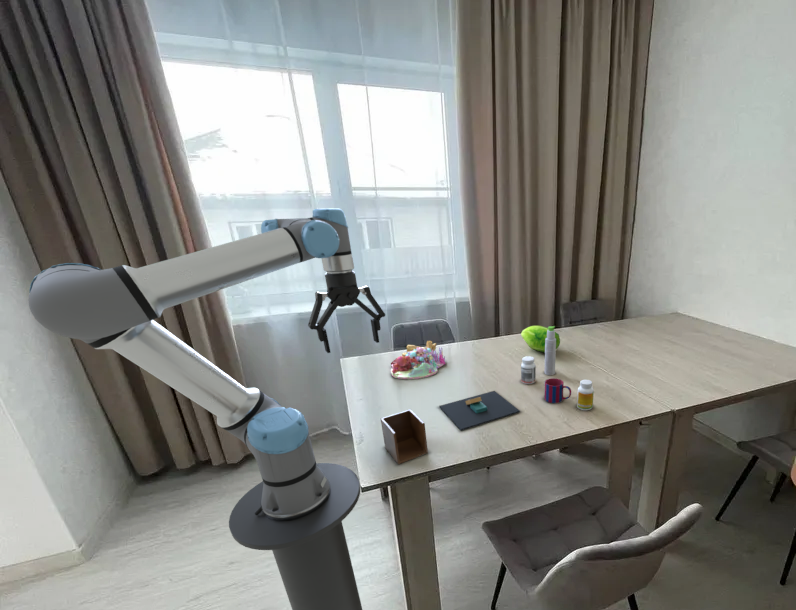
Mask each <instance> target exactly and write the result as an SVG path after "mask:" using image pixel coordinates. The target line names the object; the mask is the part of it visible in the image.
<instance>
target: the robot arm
mask: <svg viewBox="0 0 796 610" xmlns="http://www.w3.org/2000/svg"><path fill="white" fill-rule="evenodd" d="M260 232H261V233H258V234H254V235H251V236H247V237H244V238H241V239H237V240H233V241H230V242H229V241H228V242H225V243H222V244H218V245H215V246H211V247H207V248H205V249H201V250H197V251H194V252H189V253H186V254H182V255H180V256H175V257H172V258H169V259H165V260H161V261H158V262H154V263H151V264H146V265H144V266H140V267H132V266H129V265H126V264H122V265H117V266H115V267H109V268H104V269H101V268H99V267H97V266H93V265H91V264H86V263H85V264H84V263H80V262H66V263H59V264H55V265H51V266H50V267H48V268H46V269H43V270H42V271H40V273H39V274H36V275H35V276H34V277H33V279H32V281H31V282H30V285H29V289H28V290H29V293H28V299H27V301H28V307H29V311H30V313H31V314H32V316H33V318H34V319H35V320H36V321H37V322H38V324H40V325H41V326H42V327H44V328H45V329H46V330H47V331H50V332H52V333H53V334H56V335H59V336H60V337H61V336H62V337H64V338H69V339H75V340H80V341H82V342H84V343H85V344H87V345H89V346H90V347H92V348H93V349H95V350H112V351H114V352H116V353H118V354H120V355H121V356H122V357H124V358H125V359H127V360H129V361H130V362H131V363H133V364H134V365H137V366H138V367H139V368H141V369H142V370H144V371H145V372H147V373H149V374H150V375H152V376H153V377H154V378H156V379H158V380H159V381H162V383H165V384H166V385H167V386H169V387H171V388H172V389H174V390H175V391H177V392H179V393H180V394H181V395H183V396H185V397H186V398H187V399H190V400H191V401H192V402H194V403H196V404H197V405H198V406H200V407H202V408H203V409H205V410H207V412H209V413H211V414H212V415H214V416H216V424H217V426H218V427H219V428H221V429H223V430H224V431H226V432H228V433H229V434H231V435H232V436H234V437H235V438H237V439H239V440H240V441H241V442H242V443H244V445H245V446H246V448H247V449H248V450H249V452H250V453H251V454H252V455H253V457H254V459H255V462H256V463H257V467H258V470H259V473H260V475H261V476H260V477H261V479H262V481H263V492H262V500H261V507H260V508H259V509H258V510H257V511H256V512H255V515H258V514H259V513H260V512H261V511H262V510H263V513H264V515H265V516H266V517H267V518H268V519H270V520H274V521H291V520H295V519H299V518H302V517H304V516H307V515H309V514H311V513H312V512H314V511H316V510H317V509H319V508H320V507H321V506H322V505H323V504H324V503H325V502H326V501H327V500H328V498H329V496H330V493H331V487H330V483H329V480H328V479H327V478H326V476H325V475H324V474H323V473H322V471H321V470H320V469H319V467H318V466H317V464H316V463H317V461H316V457H315V456H316V455H315V452H314V448H313V444H312V440H311V436H310V432H309V424H308V422H307V420H306V418H305V416H304V414H303V413H302V412H301V411H300V410H298V409H296V408H292V407H287V408H286V407H285V406H282V405H281V404H280V403H279V402H278V401H277V400H275V399H274V398H272V397H270V396H268V395H267V394H266V393H264V392H263V391H262V390H260V389H259V388H257V387H255V386H254V387H245V386H244V385H242V384H241V383H240V382H238V381H237V380H236V379H234V378H233V377H232V376H230V375H229V374H227V373H226V372H225V371H224V370H222V369H220V368H219V367H218V366H216V365H215V364H214V363H213V362H211V361H210V360H208V359H207V358H206V357H204V356H203V355H202V354H200V353H199V352H198V351H196V350H195V349H194V348H192V347H191V346H190V345H188V344H187V343H186V342H184V341H183V340H181V339H180V338H179V337H178V336H176V335H175V334H173V333H172V332H170V330H168V329H166V328H165V327H164V326H162V324H159V323H158V322H157V321H155V320H157V319H159V318H161V316H162V315H163V312H164V310H166V309H169V308H172V307H175V306H177V305H180V304H184V303H186V302H189V301H192V300H195V299H197V298H201V297H204V296H207V295H209V294H212V293H215V292H218V291H219V292H220V291H221V290H224V289H227V288H230V287H233V286H236V285H240V284H241V283H245V282H248V281H250V280H253V279H256V278H259V277H262V276H265V275H268V274H270V273H274V272H276V271H280V270H283V269H285V268H289V267H292V266H293V265H297V264H300V263H305V262H306V261H309V260H312V259H321V263H322V267H323V268H322V269H323V271H324V278H325V283H326V289H327V290H326V292H320V291H315V293H314V296H315V297H314V298H315V301H314V304H313V308H312V311H311V313H310V316H309V320H308V324H307V327H308V328H309V329H310V330H316V333H317V338H318V340H319V341H320V342H321V343H322V342H323V347H324V351H325V352H326V353H327V354H330V353H332V352H331V348H330V342H329V338H328V333H327V329H326V328H325V326H326V325H327V323H328V321H329V320H330V318H331V317H332V315H333V313H334V312H335V311H336V310H337V308H338V307H340V308H344V307H346V306H350V307H351V306H353V305H354V304H356V305H357V306H358V307H359V308H360V309H362V310H363V311H364V312H365V313H367V314H368V315H369V316H370V317H371V319H370V326H371V331H372V338H373V341H374V342H375V343H377V344H378V343H380V338H379V331H381V323H380V322H381V319H382V318H385V317H386V313H385V311H384V310H383V309H382V308H381V306H380V305H379V302H377V300H376V299H375V297H374V296H373V295H372V292H371V288H370V287H369V286H367V285H363V286H361V287H358V283H357V276H356V272H355V271H354V269H355V263H354V259H353V253H352V248H351V247H352V246H351V241H350V235H349V225H348V221H347V217H346V214H345V212H344V210H343V209H341V208H338V207H337V208H335V207H334V208H314V209H313V210H312V217H307V218H306V217H304V218H303V217H301V218H300V217H299V218H297V217H296V218H295V217H294V218H274V219H265V220H263V221H262V223H261V226H260ZM360 293H361V294H362V295H364V296H365V297H366V299H367V300H368V301H369V304H371V305H372V307H373V308H374V310H375V311H376V313H375V312H374V311H373V310H372V309H371V308H369V307H368V306H367V305H366V304H365V303H363V301H361V300H360V299H359V298H358V297H359V296H360ZM326 298H328V299H329V300H330V301H329V302H328V305H327V307H326V308H325V310H324V311H323V313H322V315H321V317H320V313H321V310H322V306H323V302H324V301H325V300H326ZM319 317H320V318H319ZM318 319H319V320H318Z"/></svg>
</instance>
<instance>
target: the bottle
mask: <svg viewBox="0 0 796 610" xmlns="http://www.w3.org/2000/svg"><path fill="white" fill-rule="evenodd" d="M547 328H548V330H547V338H546V339H545V352H544V374H545V375H547V376H553V375H555V374H556V355H557V349H556V338H555V332H556V331H555V328H556V326H555V325H553V326H552V325H550V326H548V327H547Z"/></svg>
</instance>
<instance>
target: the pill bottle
mask: <svg viewBox="0 0 796 610" xmlns="http://www.w3.org/2000/svg"><path fill="white" fill-rule="evenodd" d="M521 361H522V362H521V364H520V381H521V383H522V384H524V385H531V384H532V385H533V384H535V382H536V380H537V379H536V373H537V371H536V368H537V367H536V363H535V357H534V356H532V355H531V356H530V355H528V356H523V357H522V358H521Z"/></svg>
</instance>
